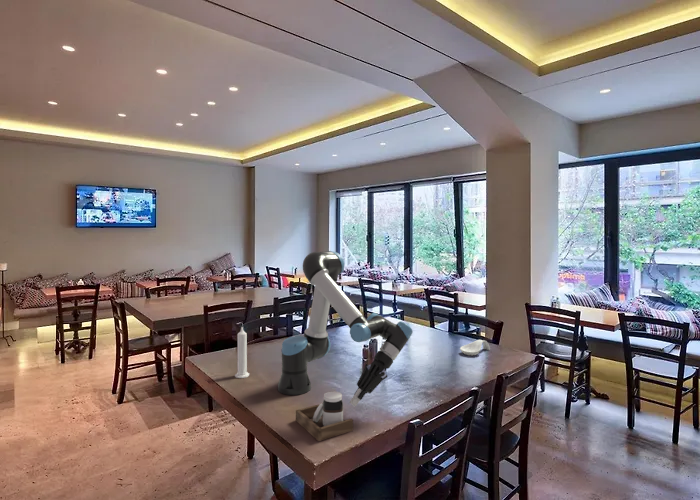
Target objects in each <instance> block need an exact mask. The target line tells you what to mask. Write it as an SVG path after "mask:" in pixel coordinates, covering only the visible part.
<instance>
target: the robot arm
mask: <svg viewBox="0 0 700 500" xmlns="http://www.w3.org/2000/svg"><path fill="white" fill-rule="evenodd" d="M344 270H345V261H344V259H343V257H342V255H341V254H340V253H338V252H337V251H331V250H328V251H327V250H326V251H325V250H324V251H313V252H311V253H308V254H307V255H306V256H305V257H304V259H303V263H302V271H303V275H304V276H305V278H306V279H307V281H308V282H309V283H310V285H312V286H314V290H313V296H312V303H311V307H310V308H311V309H310V313H309V314H310V316H309V320H308V321H309V322H308V326H307V328H305V330H304V334H303V336H302V335H295V336H290V337H288V338H285V339H284V340H283V341H282V343H281V374H280V377H279V381H278V382H277V383H278V384H277V391H278V392H279V393H280V394H283V395H288V396H296V395H303V394H306V393H308V392H309V391H310V390H311V389H312V386H311V380H310V379H311V378H310V376H309V374H308V363H310V362H313V361H315V360H319V359H322V358H323V357H325V356H327V354H328V353H329V352H330V350H331V345H332V344H331V341H330V336H329V333H328V331H326V330H327V324H328V319H329V313H330V308H331V307H332V308H333V309H334V310H335V311H336V313H337V314H338V315H339V316H340V318H341V319H342V320H343V321H344V323H345V324H346V325H347V327H348V328H349V334H350V335H349V336H350V338H351V339H352V340H353V342H356V343H363V342H366V341H367V342H368V340H371V339H374V338H376V337H382V338H383V339H384V340H385V341H384V342H383V344H381V346H380V347H379V350H378V351H377V352H376V354H375V355H373V359H374V360H373V361H372V362H371V363H370V364H368V363H365V365H364V369H363V370H362V373H361V375H360V377H359V378H358V381H357V382H356V386H357V390H356V391H355V392H354V394H353V396H352V397H351V399H350V400H349V403H350V404H351V406H353V407H354V408H356V407H357V406H358V404H359V403H360V401H361V400H363V398H364V397H365V395H366V394H371V393H372V392H374V390H375V389H376V388H377V387H378V386H379V385H380V384H381V382H383V381H384V380H385V379H386V378H388V375H387V372H386V371H387V369H390V367H391V366H392V365H393V363H394V361H396V359H397V357H398V356H399V354H400V353H401V351H402V350H403V348H404V347H405V345H406V344H407V343H408V341H409V340H410V339H411V336H412V335H413V329H412V328H411V326H410V325H409V324H407V323H406V322H403V321H399V322H397V323H394V322H392V321H390V320H389V319H387V318H386V317H383V316H382V315H380V314H378V313H376V312H374V313H371V314H370V315H368V317H367V318H366V317H365V316H364V315H363V314H362V312H361V311H360V310H359V309H358V308H357V306H356V305H355V304H354V303H353V301H351V299H350V298H349V297H348V296H347V295H346V293H345V292H344V291H343V290H342V289H341V288H340V287H339V285H338V284H337V282H338V278H339V275H341V274H342V273H343V271H344ZM330 306H331V307H330Z"/></svg>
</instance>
